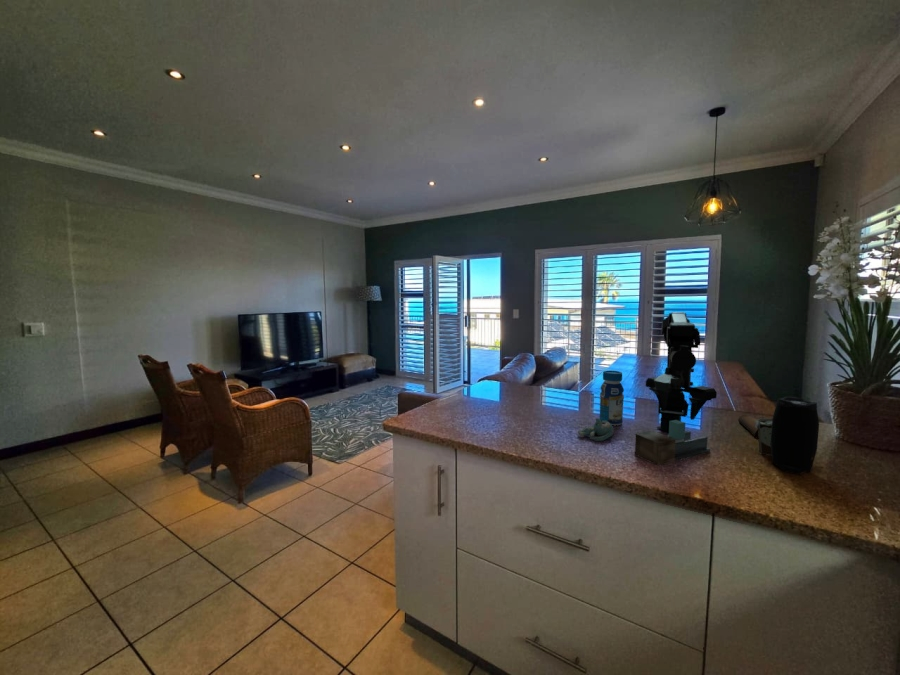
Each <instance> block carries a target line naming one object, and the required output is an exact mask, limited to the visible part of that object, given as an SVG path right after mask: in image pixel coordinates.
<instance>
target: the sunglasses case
mask: <svg viewBox="0 0 900 675" xmlns="http://www.w3.org/2000/svg"><path fill="white" fill-rule="evenodd" d="M758 420H759V419H758V418H755V417H753V416H750V415H746V414H742V415H740V416H739V417H738V419H737V421H738V423H740V425H742V426H744V427H745V428H746V430H747V431H749V433H751V434H752V436H753V437H755V438H756V437H757V438H759V437H758V429H757V428H756V427H755V425H756V423H757V421H758ZM757 438H756V439H757Z"/></svg>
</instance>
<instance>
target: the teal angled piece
mask: <svg viewBox="0 0 900 675" xmlns="http://www.w3.org/2000/svg"><path fill="white" fill-rule="evenodd" d="M685 431H686V422H685V421H682V420H681V421H678V420H673V421H669V432H668V435H669V437H671V438H674V439H676V440H675V443H677V442H682V441H684V439H685Z"/></svg>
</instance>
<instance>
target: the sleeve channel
mask: <svg viewBox="0 0 900 675" xmlns="http://www.w3.org/2000/svg"><path fill="white" fill-rule="evenodd" d="M691 434H692V431H690V430H687V431H686V430H685V439H684V441H682V442H677V443H675V461H674V462H677V461H680V460H681V459H682V460H684V459H688V458H689V459H690V458H693V457H696V456H701V455H703V454H709V453H711V448H708V436H705V435H704V436H700V437H695V438H692V439H691V437H692V436H691ZM666 436H668V437H669V434H666Z"/></svg>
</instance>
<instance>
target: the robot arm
mask: <svg viewBox="0 0 900 675" xmlns="http://www.w3.org/2000/svg"><path fill="white" fill-rule="evenodd" d="M661 322H662V323H661V330H660V331H661V332H660V333H661V335H663V339H662V340H663V342H664V343H665V344H666V347H667V358H666V359H667V360H666V361H667V365H666V367H665V369H664V373H663V374H661V375H659V376H654V377H647V379H646V380H645V387H646V388H648V389H649V391H651V392H653V393H654V394H655V397H656V399H657V401H658V402H657V413H658V415H660V425H659V426H656V429H657V430H660V431H664V432H666V433H669V421H673V420H678V421H681V422H682V417H687V416H688V411H689V403H688V400H687V399H685V398H686V397H685V393H688V394H689V395H690V396H691V397H688V399H689V401H690V413H689V415H690V418H689V419H690V420H692V421H693V420H695V418H697V416H698V414H699V413H700V411H701V409H702V408H703V407H704V405H705V404H706V403H707V402H708V401H712V399H717V394H718V393H717V390H716V389H715V388H714V387H710V386H709V387H708V386H705V385H700V386H699V385H698V386H694V382H693V381H691V378H692V377H691V374H692V373H694V371H695V368H694V367H695V365H696V363H697V358H696V355H695V354H694V353H693V349H698V348H699V346H701V332H700V331H699V328H698V327H696V325H695V324H694V323H693V322H691V321H690V319H689V318H688V317H687V313H686V312H683V311H680V312H679V311H678V312H677V311H675V312H674V311H672V312H669V313H668V316H667V317H665V318H664V319H662V321H661ZM684 392H685V393H684Z"/></svg>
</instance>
